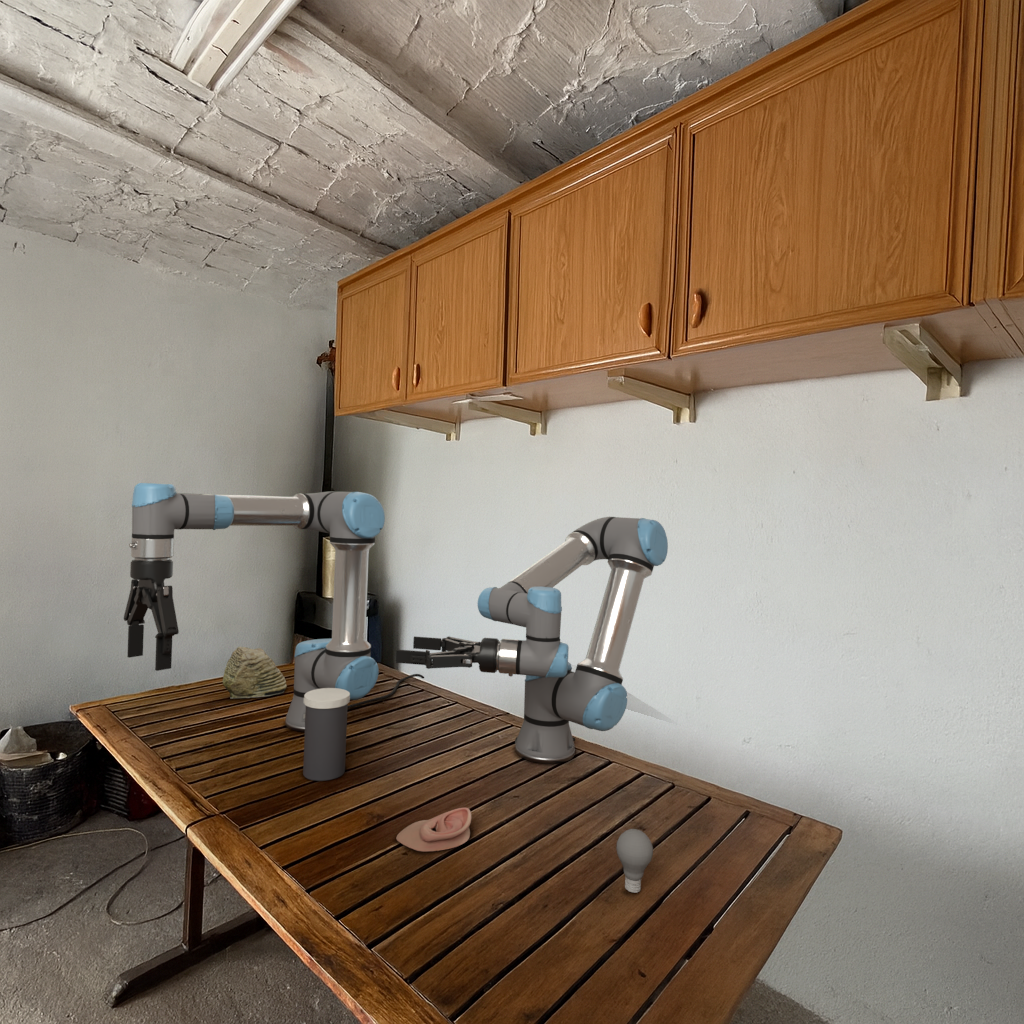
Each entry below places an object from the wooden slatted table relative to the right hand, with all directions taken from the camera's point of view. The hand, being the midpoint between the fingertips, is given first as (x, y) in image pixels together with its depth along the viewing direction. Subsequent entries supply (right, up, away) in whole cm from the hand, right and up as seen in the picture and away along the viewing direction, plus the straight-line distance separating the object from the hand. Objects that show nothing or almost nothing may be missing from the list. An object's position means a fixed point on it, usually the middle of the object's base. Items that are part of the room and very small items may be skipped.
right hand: (405, 648), depth 143 cm
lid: (-18, -11, +2) cm, 22 cm away
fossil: (-57, -26, +55) cm, 83 cm away
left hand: (-50, 0, -14) cm, 52 cm away
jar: (-19, -29, +3) cm, 35 cm away
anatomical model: (+9, -31, -23) cm, 40 cm away
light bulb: (+44, -32, -37) cm, 66 cm away
